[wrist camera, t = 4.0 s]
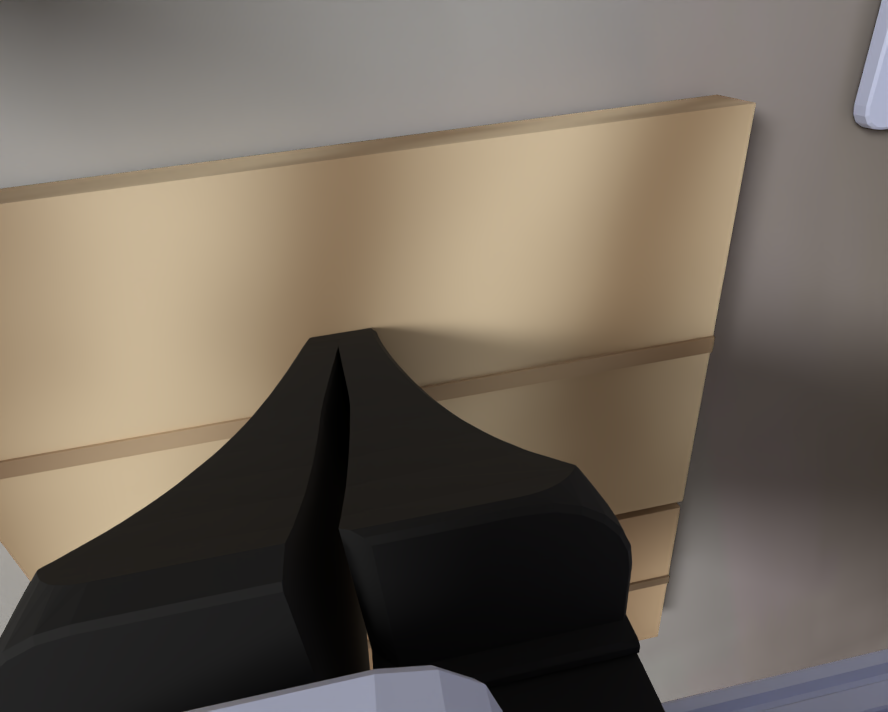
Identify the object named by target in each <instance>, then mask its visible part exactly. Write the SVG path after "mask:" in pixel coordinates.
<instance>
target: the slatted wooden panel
mask: <svg viewBox="0 0 888 712" xmlns="http://www.w3.org/2000/svg"><path fill="white" fill-rule="evenodd" d="M755 105H756V103H754V102H749V101H744V100H739V99H735V98H730V97H725V96H721V95H711V96H704V97H696V98H689V99H681V100H673V101H666V102H658V103H650V104H643V105H635V106H628V107H620V108H612V109H605V110H597V111H589V112H582V113H574V114H567V115H559V116H551V117H544V118H536V119H529V120H521V121H513V122H506V123H498V124H490V125H483V126H475V127H468V128H460V129H452V130H445V131H437V132H430V133H422V134H414V135H407V136H399V137H391V138H384V139H376V140H369V141H361V142H353V143H346V144H338V145H330V146H323V147H315V148H308V149H300V150H292V151H285V152H277V153H270V154H262V155H254V156H247V157H239V158H231V159H224V160H216V161H209V162H201V163H193V164H186V165H178V166H171V167H163V168H155V169H148V170H140V171H132V172H125V173H117V174H110V175H102V176H94V177H87V178H79V179H71V180H64V181H56V182H49V183H41V184H33V185H26V186H18V187H11V188H3V189H0V541H1V543H2V544H3V545H4V547H5V548H6V549H7V551H8V552H9V553H10V555H11V556H12V557H13V559H14V560H15V561H16V563H17V564H18V565H19V567H20V568H21V569H22V571H23V572H24V573H25V575H26V576H27V577H28V579H29V580H30V581H31V580H32V578H33V576H34V575H35V573H36V571H37V570H38V569H40V568H41V567H43V566H45V565H47V564H49V563H51V562H53V561H55V560H57V559H58V558H60V557H62V556H64V555H65V554H67V553H69V552H71V551H73V550H74V549H76V548H78V547H80V546H81V545H83V544H85V543H87V542H89V541H90V540H92V539H94V538H96V537H97V536H99V535H101V534H103V533H105V532H106V531H108V530H110V529H111V528H113V527H114V526H116V525H118V524H119V523H121V522H123V521H124V520H126V519H127V518H129V517H130V516H132V515H133V514H135V513H136V512H138V511H139V510H141V509H143V508H144V507H146V506H147V505H149V504H150V503H151V502H153V501H154V500H156V499H157V498H159V497H160V496H161V495H163V494H164V493H166V492H167V491H169V490H170V489H171V488H173V487H174V486H175V485H177V484H178V483H179V482H180V481H182V480H183V479H184V478H185V477H187V476H188V475H189V474H190V473H192V472H193V471H194V470H195V469H196V468H198V467H199V466H200V465H201V464H203V463H204V462H205V461H206V460H208V459H209V458H210V457H211V456H212V455H214V454H215V453H216V452H217V451H218V450H219V449H220V448H221V447H222V446H223V445H224V444H225V443H227V442H228V441H229V440H230V439H231V438H232V437H233V436H234V435H235V434H236V433H237V432H238V431H239V430H240V429H241V428H242V427H243V426H244V425H245V424H246V423H247V421H248V420H249V419H250V418H251V417H252V416H253V415H254V413H255V412H256V411H257V410H258V409H259V407H260V406H261V405H262V404H263V403H264V401H265V400H266V399H267V398H268V397H269V395H270V394H271V393H272V391H273V390H274V388H275V387H276V386H277V384H278V383H279V382H280V380H281V379H282V377H283V376H284V375H285V373H286V372H287V370H288V369H289V367H290V366H291V364H292V363H293V361H294V360H295V358H296V357H297V355H298V354H299V352H300V350H301V349H302V347H303V346H304V345H305V343H306V342H307V341H308V339H309V338H311V337H318V336H324V335H330V334H336V333H342V332H348V331H355V330H361V329H367V328H372V329H373V330H374V331H376V332H377V334H378V337H379V339H380V340H381V342H382V344H383V345H384V347H385V348H386V350H387V351H388V352H389V354H390V355H391V356H392V358H393V359H394V360H395V361H396V363H397V364H398V365H399V366H400V367H401V368H402V369H403V370H404V371H405V373H406V374H407V375H408V376H409V377H410V378H411V379H412V380H413V381H414V382H415V383H416V384H417V385H418V386H419V387H421V388H422V389H423V390H424V391H425V392H426V393H427V394H428V395H429V396H431V397H432V398H433V399H434V400H435V401H437V402H438V403H439V404H441V405H442V406H443V407H445V408H446V409H447V410H449V411H450V412H452V413H453V414H454V415H456V416H457V417H459V418H461V419H462V420H464V421H465V422H467V423H469V424H471V425H473V426H475V427H476V428H478V429H480V430H482V431H484V432H486V433H488V434H490V435H492V436H494V437H496V438H498V439H500V440H503V441H505V442H508V443H510V444H513V445H515V446H518V447H520V448H522V449H525V450H528V451H531V452H534V453H537V454H541V455H544V456H547V457H550V458H554V459H557V460H560V461H564V462H567V463H570V464H574V465H576V466H577V467H578V468H579V469H580V470H581V471H582V472H583V474H584V475H585V476H586V477H587V479H588V480H589V481H590V482H591V484H592V485H593V486H594V487H595V488H596V490H597V491H598V492H599V494H600V495H601V496H602V497H603V499H604V500H605V501H606V503H607V504H608V505H609V507H610V508H611V510H612V511H613V513H614V514H615V515H617V514H622V513H627V512H632V511H636V510H641V509H646V508H651V507H656V506H661V505H666V504H671V503H675V502H680V501H683V496H684V491H685V485H686V480H687V475H688V469H689V464H690V458H691V453H692V447H693V442H694V437H695V431H696V426H697V420H698V415H699V409H700V404H701V398H702V393H703V388H704V382H705V377H706V371H707V366H708V360H709V355H710V353H711V352H712V350H713V344H714V339H715V337H714V336H713V333H714V328H715V322H716V317H717V312H718V306H719V301H720V295H721V290H722V284H723V279H724V273H725V268H726V263H727V257H728V252H729V246H730V241H731V235H732V230H733V225H734V219H735V214H736V208H737V203H738V197H739V192H740V186H741V181H742V176H743V170H744V165H745V159H746V154H747V148H748V143H749V138H750V132H751V127H752V121H753V116H754V110H755Z"/></svg>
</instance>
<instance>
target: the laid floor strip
mask: <svg viewBox="0 0 888 712" xmlns="http://www.w3.org/2000/svg"><path fill="white" fill-rule="evenodd" d="M679 512H680V506H679V505H678V504H677V502H675V503H671V504H666V505H661V506H656V507H651V508H646V509H641V510H636V511H632V512H627V513H622V514H617V515H615V516H616V517H617V519H618V521H619V523H620V524H621V526H622V528H623V530H624V532H625V535H626V537H627V538H628V540H629V542H630V544H631V551H632V571H631V579H630V586H629V594H628V602H627V610H626V615H627V617H628V619H629V621H630V623H631V625H632V627H633V629H634V631H635V633H636V635H637V637H638V640H643V639H648V638H652V637H657V636H658V631H659V625H660V620H661V614H662V608H663V603H664V597H665V591H666V586H667V583H669V577H670V576H669V575H668V574H669V569H670V563H671V557H672V552H673V546H674V540H675V535H676V529H677V523H678V518H679ZM367 641H368V652H369V662H370V670H373V662H372V649H371V646H370V642H369V638H368V634H367Z"/></svg>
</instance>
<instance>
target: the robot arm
mask: <svg viewBox="0 0 888 712" xmlns="http://www.w3.org/2000/svg"><path fill="white" fill-rule="evenodd" d="M853 115H854V118H855V121H856V123H858V124H859V125H860V126H861V127H866V128H871V129H878V130H883V129H888V0H882V2H881V6H880V10H879V13H878V17H877V21H876V25H875V28H874V32H873V36H872V40H871V44H870V47H869V51H868V55H867V59H866V63H865V66H864V70H863V74H862V78H861V81H860V85H859V89H858V93H857V97H856V100H855V104H854V114H853ZM631 571H632V551H631V544H630V542H629V540H628V538H627V537H626V535H625V532H624V530H623V528H622V526H621V524H620V523H619V521H618V519H617V517H616V516H615V514H614V513H613V511H612V510H611V508H610V507H609V505H608V504H607V503H606V501H605V500H604V499H603V497H602V496H601V495H600V494H599V492H598V491H597V490H596V488H595V487H594V486H593V485H592V484H591V482H590V481H589V480H588V479H587V477H586V476H585V475H584V474H583V472H582V471H581V470H580V469H579V468H578V467H577V466H576V465H574V464H570V463H567V462H564V461H560V460H557V459H554V458H550V457H547V456H544V455H541V454H537V453H534V452H531V451H528V450H525V449H522V448H520V447H518V446H515V445H513V444H510V443H508V442H505V441H503V440H500V439H498V438H496V437H494V436H492V435H490V434H488V433H486V432H484V431H482V430H480V429H478V428H476V427H475V426H473V425H471V424H469V423H467V422H465V421H464V420H462V419H461V418H459V417H457V416H456V415H454V414H453V413H452V412H450V411H449V410H447V409H446V408H445V407H443V406H442V405H441V404H439V403H438V402H437V401H435V400H434V399H433V398H432V397H431V396H429V395H428V394H427V393H426V392H425V391H424V390H423V389H422V388H421V387H419V386H418V385H417V384H416V383H415V382H414V381H413V380H412V379H411V378H410V377H409V376H408V375H407V374H406V373H405V371H404V370H403V369H402V368H401V367H400V366H399V365H398V364H397V363H396V361H395V360H394V359H393V358H392V356H391V355H390V354H389V352H388V351H387V350H386V348H385V347H384V345H383V344H382V342H381V340H380V339H379V337H378V334H377V332H376V331H374V330H373V329H372V328H367V329H361V330H355V331H348V332H342V333H336V334H330V335H324V336H318V337H311V338H309V339H308V341H307V342H306V343H305V345H304V346H303V347H302V349H301V350H300V352H299V354H298V355H297V357H296V358H295V360H294V361H293V363H292V364H291V366H290V367H289V369H288V370H287V372H286V373H285V375H284V376H283V377H282V379H281V380H280V382H279V383H278V384H277V386H276V387H275V388H274V390H273V391H272V393H271V394H270V395H269V397H268V398H267V399H266V400H265V401H264V403H263V404H262V405H261V406H260V407H259V409H258V410H257V411H256V412H255V413H254V415H253V416H252V417H251V418H250V419H249V420H248V421H247V423H246V424H245V425H244V426H243V427H242V428H241V429H240V430H239V431H238V432H237V433H236V434H235V435H234V436H233V437H232V438H231V439H230V440H229V441H228V442H227V443H225V444H224V445H223V446H222V447H221V448H220V449H219V450H218V451H217V452H216V453H215V454H214V455H212V456H211V457H210V458H209V459H208V460H206V461H205V462H204V463H203V464H201V465H200V466H199V467H198V468H196V469H195V470H194V471H193V472H192V473H190V474H189V475H188V476H187V477H185V478H184V479H183V480H182V481H180V482H179V483H178V484H177V485H175V486H174V487H173V488H171V489H170V490H169V491H167V492H166V493H164V494H163V495H161V496H160V497H159V498H157V499H156V500H154V501H153V502H151V503H150V504H149V505H147V506H146V507H144V508H143V509H141V510H139V511H138V512H136V513H135V514H133V515H132V516H130V517H129V518H127V519H126V520H124V521H123V522H121V523H119V524H118V525H116V526H114V527H113V528H111V529H110V530H108V531H106V532H105V533H103V534H101V535H99V536H97V537H96V538H94V539H92V540H90V541H89V542H87V543H85V544H83V545H81V546H80V547H78V548H76V549H74V550H73V551H71V552H69V553H67V554H65V555H64V556H62V557H60V558H58V559H57V560H55V561H53V562H51V563H49V564H47V565H45V566H43V567H41V568H40V569H38V570H37V571H36V573H35V575H34V576H33V578H32V580H31V581H30V583H29V585H28V587H27V589H26V590H25V592H24V594H23V596H22V598H21V599H20V601H19V603H18V605H17V607H16V609H15V611H14V612H13V614H12V616H11V618H10V620H9V622H8V624H7V626H6V628H5V630H4V632H3V633H2V635H1V637H0V712H888V649H884V650H880V651H876V652H872V653H868V654H863V655H859V656H855V657H851V658H847V659H843V660H838V661H834V662H830V663H826V664H822V665H818V666H814V667H809V668H805V669H801V670H797V671H793V672H789V673H784V674H780V675H776V676H772V677H768V678H764V679H760V680H755V681H751V682H747V683H743V684H739V685H735V686H730V687H726V688H722V689H718V690H714V691H710V692H706V693H701V694H697V695H693V696H689V697H685V698H681V699H677V700H672V701H668V702H664V703H661V702H660V700H659V698H658V696H657V694H656V692H655V690H654V688H653V686H652V684H651V681H650V679H649V677H648V675H647V673H646V671H645V669H644V667H643V665H642V663H641V661H640V659H639V657H638V655H637V653H639V649H640V644H639V640H638V637H637V635H636V633H635V631H634V629H633V627H632V625H631V623H630V621H629V619H628V617H627V615H626V610H627V602H628V594H629V586H630V579H631ZM367 634H368V638H369V642H370V646H371V649H372V662H373V670H370V662H369V652H368V641H367Z"/></svg>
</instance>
